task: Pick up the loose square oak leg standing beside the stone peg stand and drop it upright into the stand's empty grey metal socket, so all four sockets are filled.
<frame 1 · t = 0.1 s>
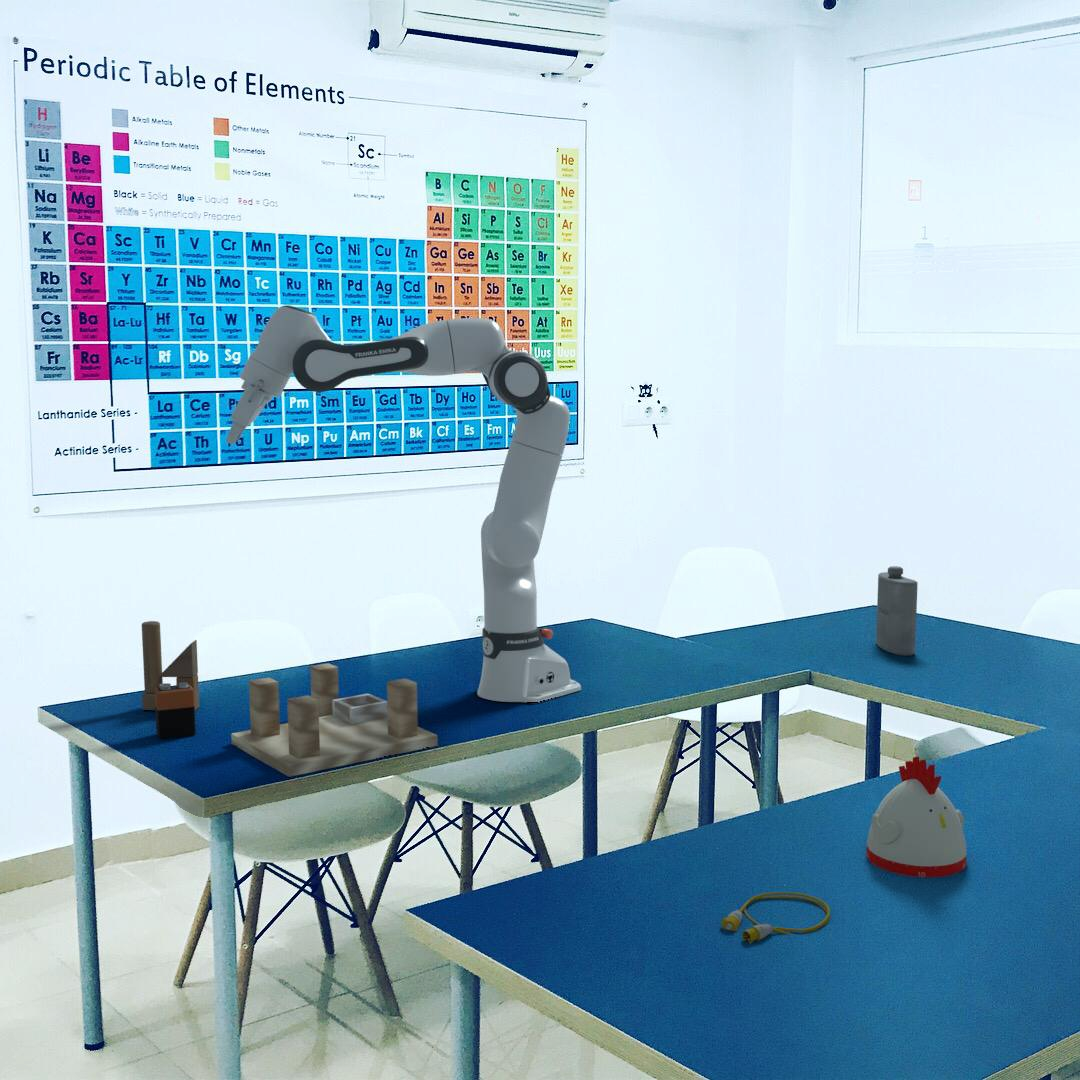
hand: (231, 441, 271), 54 cm above the table, tool tilted 30°, fingers open, 8 cm apart
flask: (893, 649, 327), on the table
kitchen timer: (915, 860, 195), on the table
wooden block: (171, 710, 276), on the table
extension cord: (774, 922, 175), on the table
oak leg: (325, 715, 271), on the table
stone peg stand: (334, 744, 251), on the table
battery: (176, 735, 258), on the table
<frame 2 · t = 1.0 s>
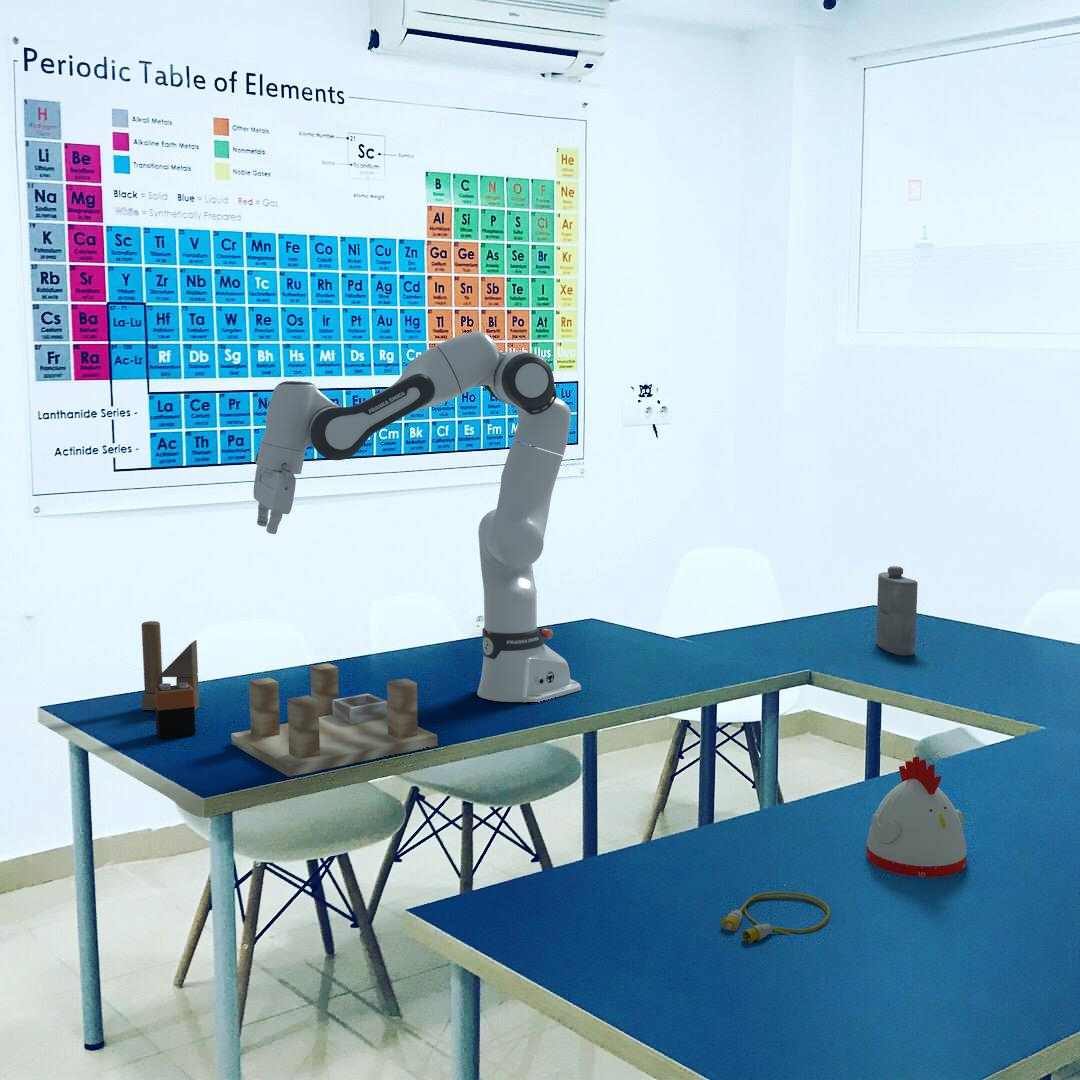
hand: (266, 529, 268), 37 cm above the table, tool pointing down, fingers open, 8 cm apart
nothing on the table moved.
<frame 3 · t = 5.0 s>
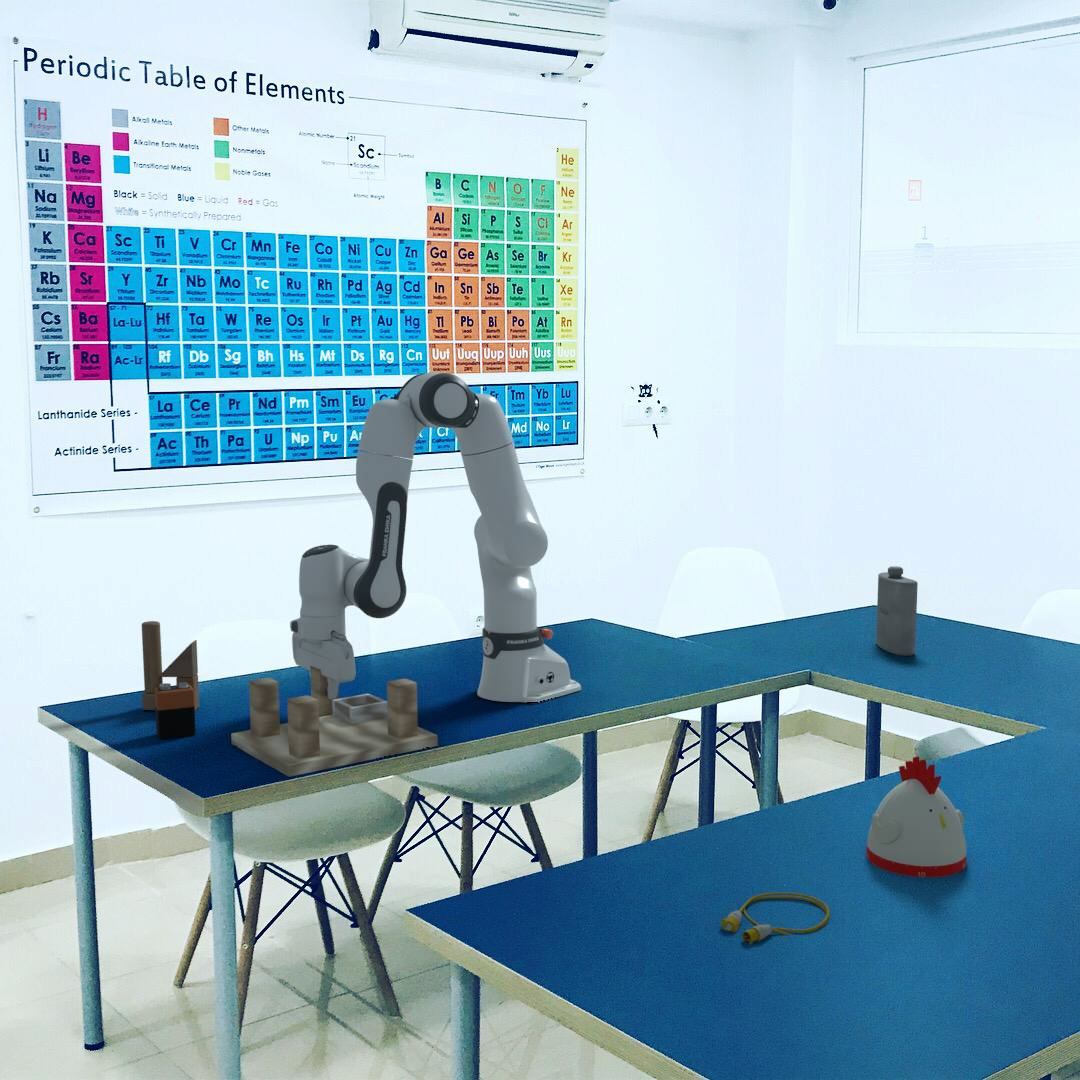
hand: (324, 695, 270), 4 cm above the table, tool pointing down, fingers closed on oak leg, 4 cm apart
oak leg: (325, 715, 271), on the table, touching gripper
everything else where it was.
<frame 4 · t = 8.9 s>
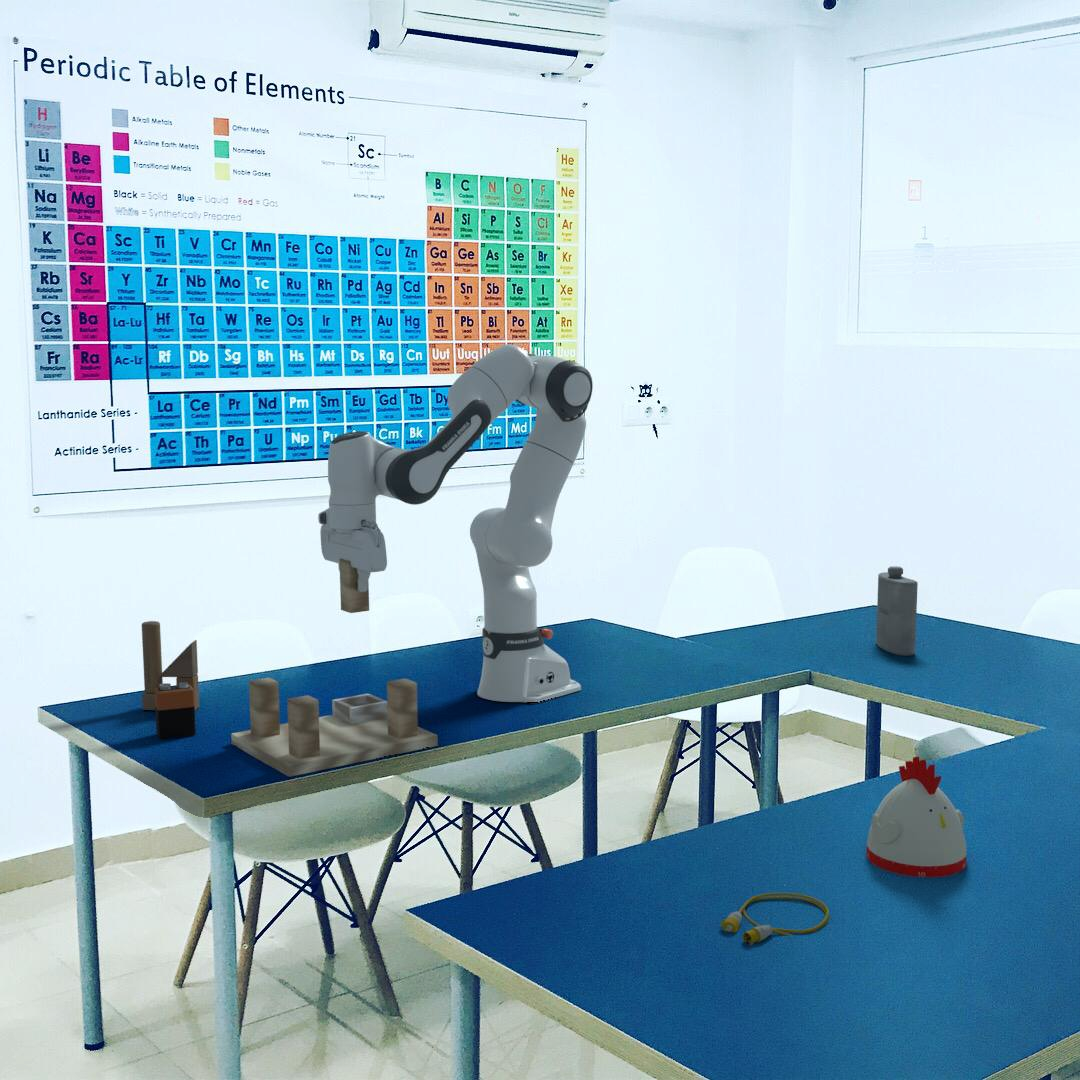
hand: (354, 589, 260), 27 cm above the table, tool pointing down, fingers closed on oak leg, 4 cm apart
oak leg: (355, 610, 260), point 23 cm above the table, touching gripper
everything else where it was.
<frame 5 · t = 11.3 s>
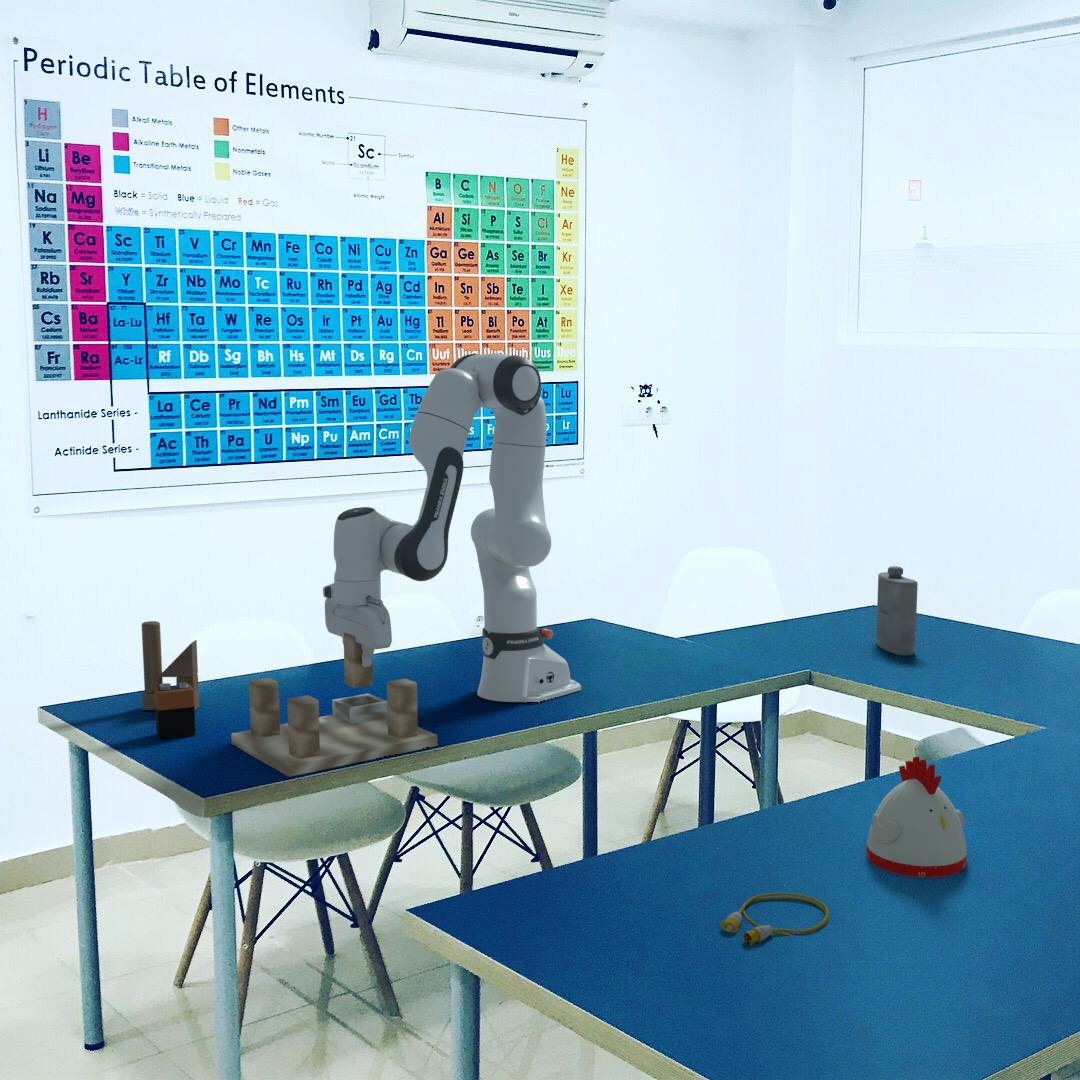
hand: (358, 663, 261), 12 cm above the table, tool pointing down, fingers closed on oak leg, 4 cm apart
oak leg: (358, 684, 262), point 8 cm above the table, touching gripper
everything else where it was.
when the fingers open (8 cm above the table, at t = 13.0 s): oak leg drops 1 cm, resting on stone peg stand.
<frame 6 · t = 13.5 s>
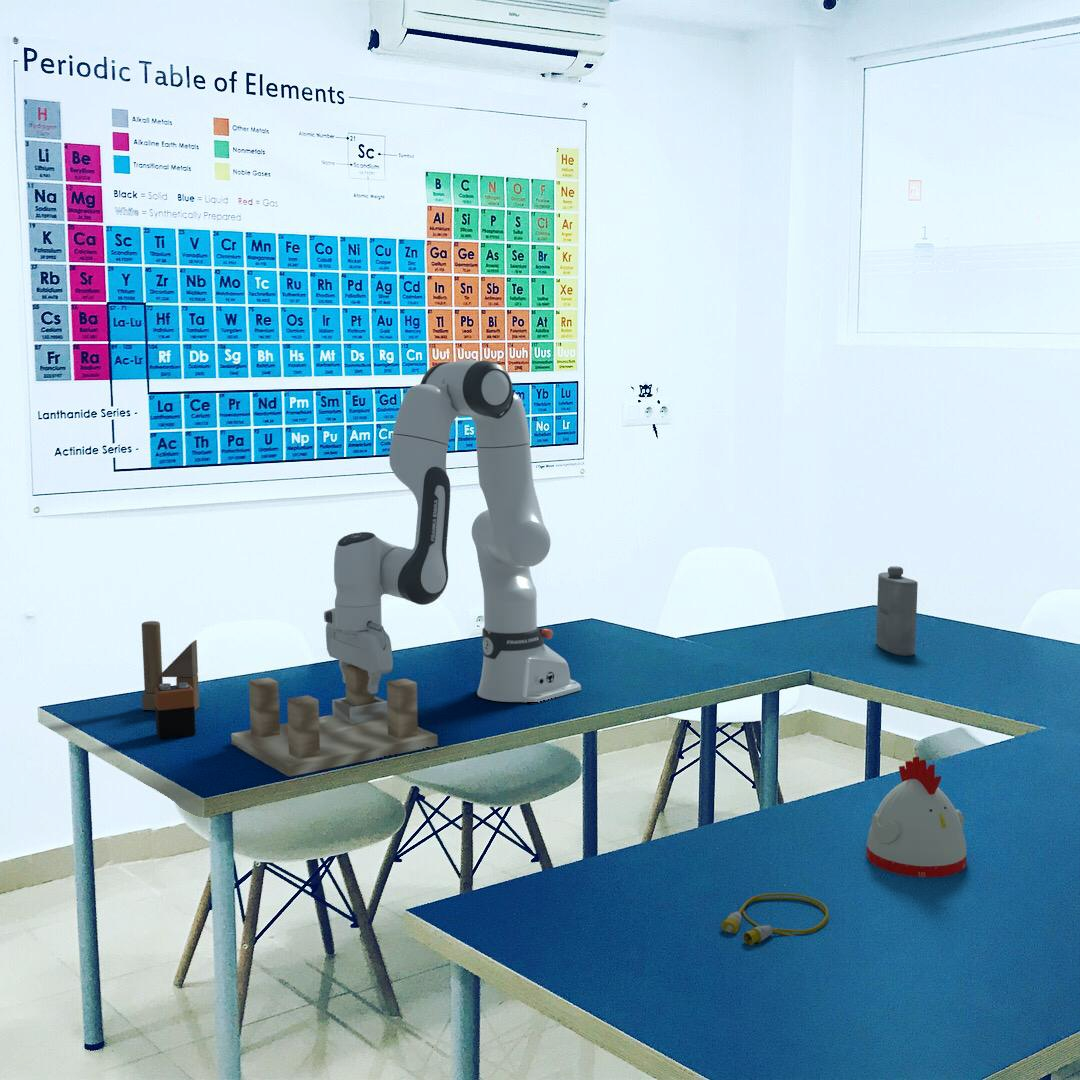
hand: (360, 687, 262), 8 cm above the table, tool pointing down, fingers open, 8 cm apart
oak leg: (360, 716, 263), point 2 cm above the table, touching stone peg stand
everything else where it was.
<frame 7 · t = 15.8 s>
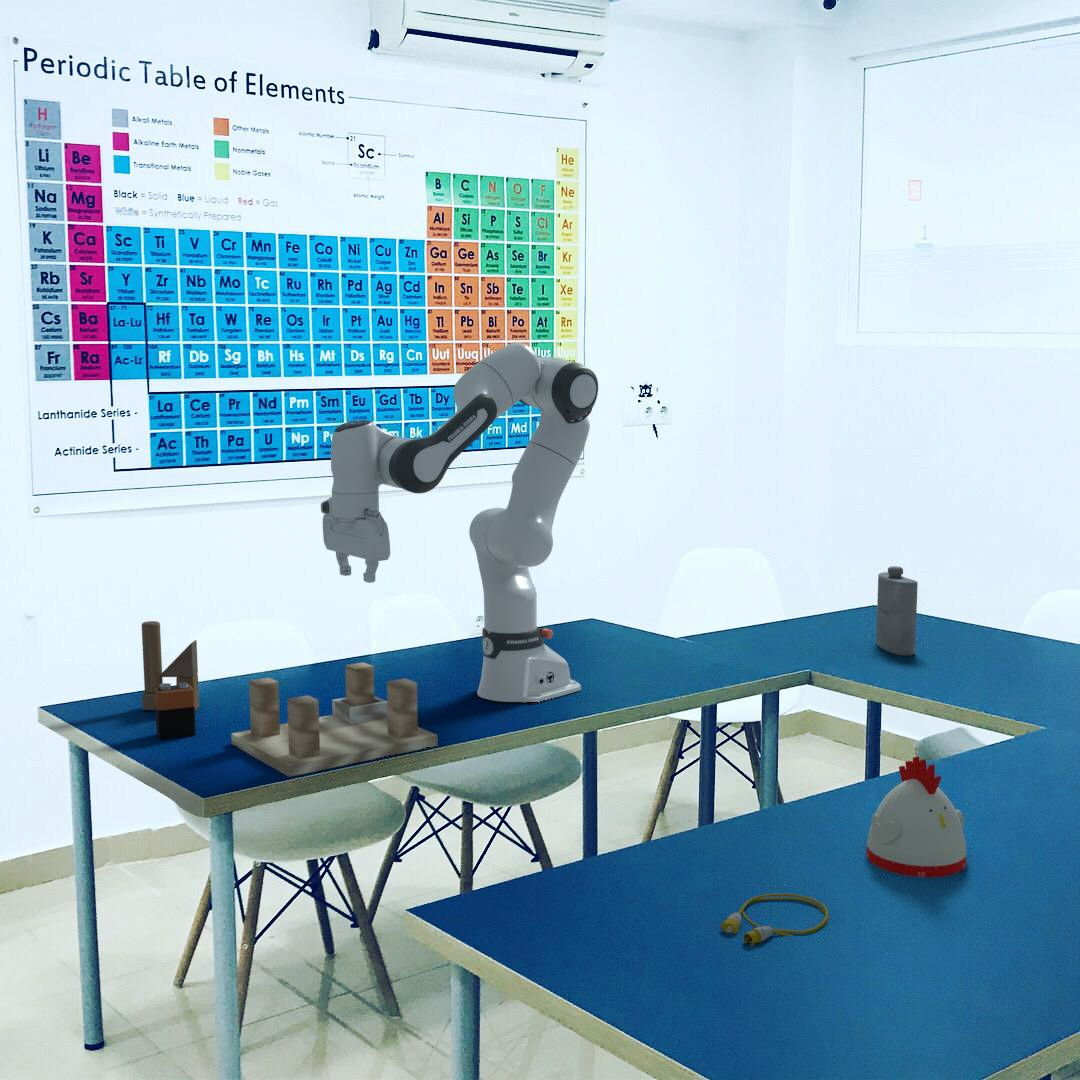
hand: (357, 578, 259), 29 cm above the table, tool pointing down, fingers open, 8 cm apart
nothing on the table moved.
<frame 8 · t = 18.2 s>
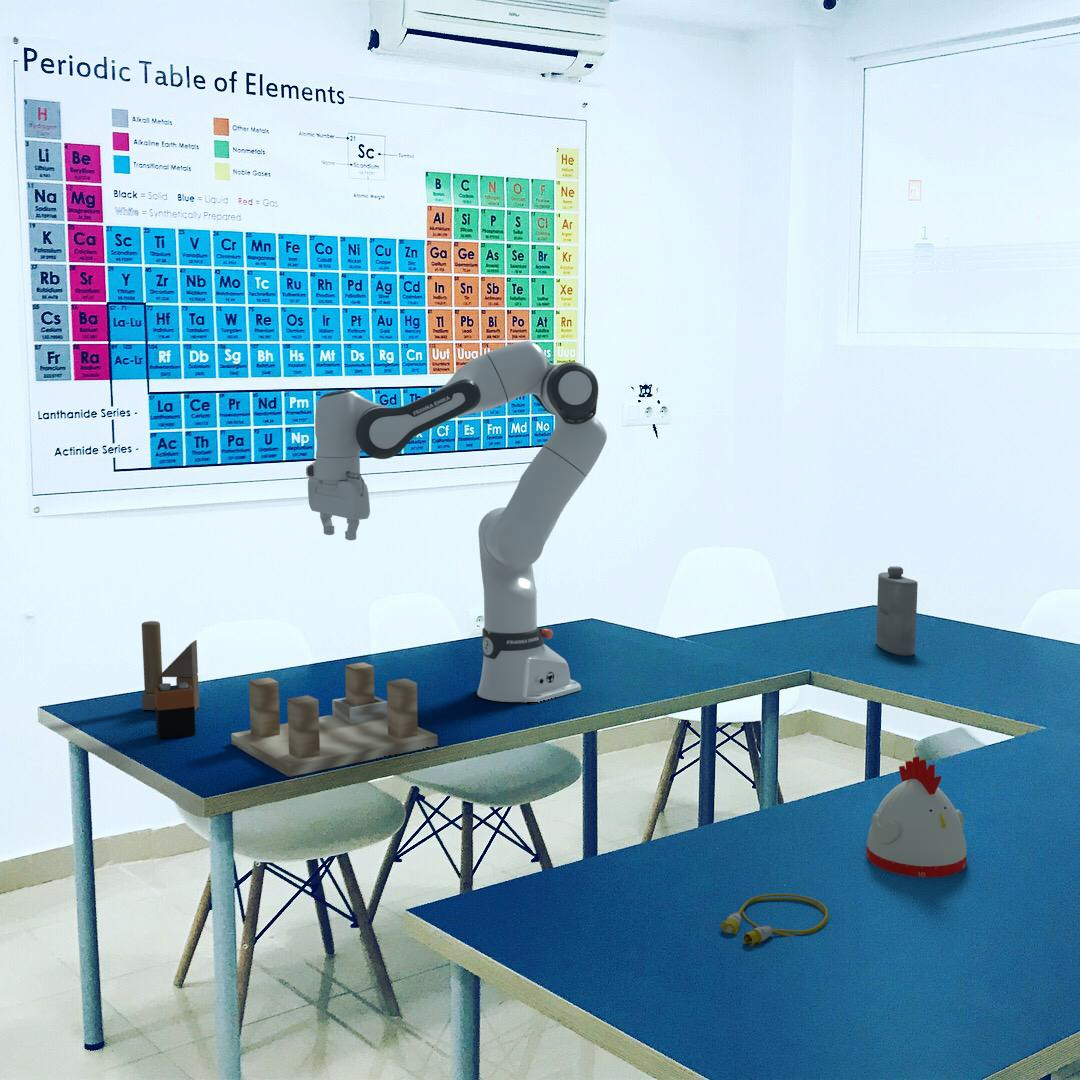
hand: (339, 537, 278), 34 cm above the table, tool pointing down, fingers open, 8 cm apart
nothing on the table moved.
at the end: oak leg 0.0 cm from the target spot on the stone peg stand, point 2.0 cm above the stone peg stand's base; oak leg tilted 0°; the gripper is holding nothing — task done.
